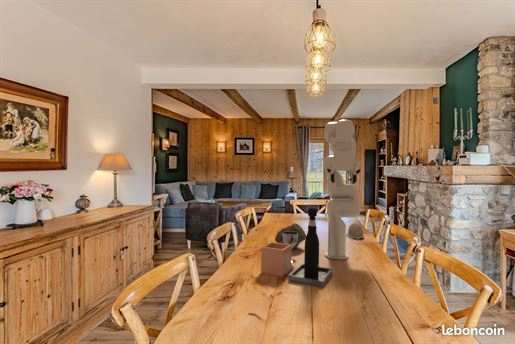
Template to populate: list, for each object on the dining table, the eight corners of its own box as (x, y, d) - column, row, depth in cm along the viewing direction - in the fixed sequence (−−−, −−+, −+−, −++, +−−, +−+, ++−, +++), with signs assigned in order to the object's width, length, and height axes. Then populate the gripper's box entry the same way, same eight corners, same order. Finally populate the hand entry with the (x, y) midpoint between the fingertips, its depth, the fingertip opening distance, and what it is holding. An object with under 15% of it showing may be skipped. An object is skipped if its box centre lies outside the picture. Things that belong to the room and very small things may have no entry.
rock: (295, 218, 192) (290, 218, 178) (310, 237, 188) (306, 238, 173) (273, 236, 195) (267, 237, 180) (287, 255, 190) (282, 258, 176)
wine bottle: (302, 272, 140) (303, 207, 139) (316, 272, 140) (317, 207, 140) (306, 277, 134) (307, 209, 133) (320, 277, 134) (321, 209, 133)
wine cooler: (270, 265, 152) (270, 241, 152) (291, 269, 147) (291, 244, 147) (260, 272, 142) (261, 247, 142) (282, 276, 137) (283, 250, 137)
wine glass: (296, 263, 156) (297, 234, 156) (281, 262, 157) (281, 233, 157) (298, 259, 164) (298, 231, 163) (283, 258, 165) (283, 230, 165)
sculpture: (361, 234, 227) (362, 221, 227) (365, 239, 211) (365, 225, 210) (345, 233, 229) (345, 220, 229) (347, 238, 213) (347, 224, 213)
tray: (301, 268, 148) (301, 263, 148) (332, 274, 141) (332, 268, 141) (288, 280, 132) (288, 275, 132) (322, 287, 125) (322, 281, 125)
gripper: (323, 146, 144) (323, 182, 144) (362, 146, 136) (361, 184, 136) (327, 147, 150) (327, 182, 151) (364, 147, 142) (363, 183, 143)
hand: (343, 183), depth 143 cm, fingers open, 9 cm apart
